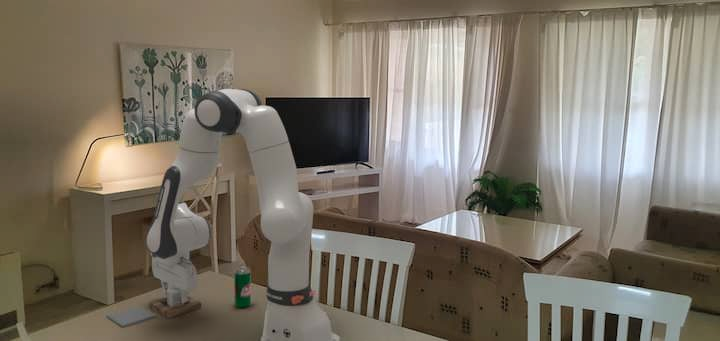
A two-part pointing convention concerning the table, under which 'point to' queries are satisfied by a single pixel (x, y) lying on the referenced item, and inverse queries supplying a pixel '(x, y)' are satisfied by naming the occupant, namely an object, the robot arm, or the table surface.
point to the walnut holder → (168, 312)
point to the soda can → (242, 287)
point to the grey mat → (131, 316)
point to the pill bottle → (173, 296)
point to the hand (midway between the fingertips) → (175, 297)
